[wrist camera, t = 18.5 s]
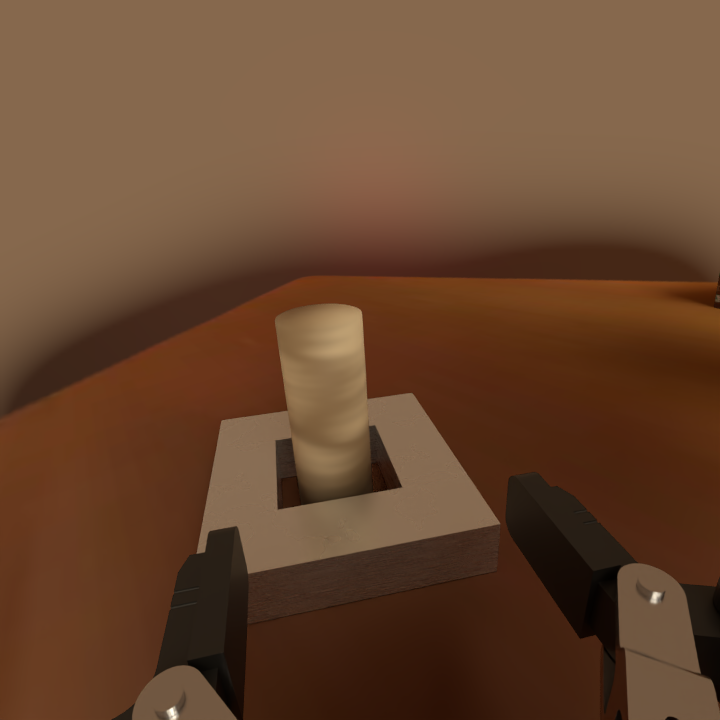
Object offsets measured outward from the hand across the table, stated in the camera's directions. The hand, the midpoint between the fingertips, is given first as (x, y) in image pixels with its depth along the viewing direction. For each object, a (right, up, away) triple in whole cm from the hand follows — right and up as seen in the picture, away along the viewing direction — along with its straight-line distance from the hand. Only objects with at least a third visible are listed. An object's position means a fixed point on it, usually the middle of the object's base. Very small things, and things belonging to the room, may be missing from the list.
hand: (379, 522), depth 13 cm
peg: (-2, -4, +14) cm, 15 cm away
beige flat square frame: (-2, -4, +14) cm, 15 cm away
